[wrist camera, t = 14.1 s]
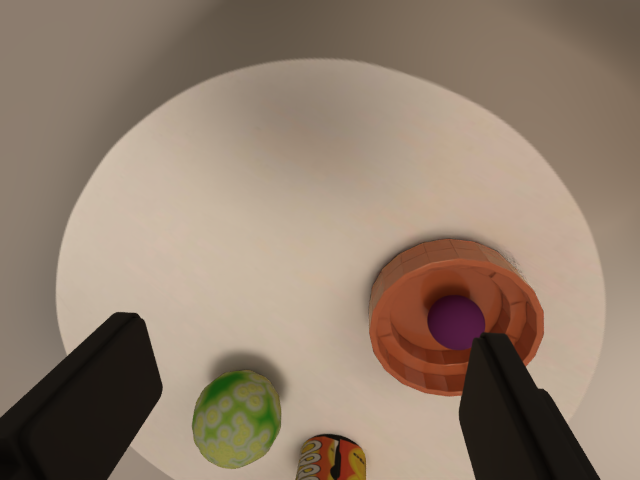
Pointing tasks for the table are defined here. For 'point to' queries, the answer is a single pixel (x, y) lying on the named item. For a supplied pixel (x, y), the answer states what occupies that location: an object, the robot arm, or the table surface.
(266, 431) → the decorative ball
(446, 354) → the bowl
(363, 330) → the table surface
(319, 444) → the beverage can
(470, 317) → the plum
